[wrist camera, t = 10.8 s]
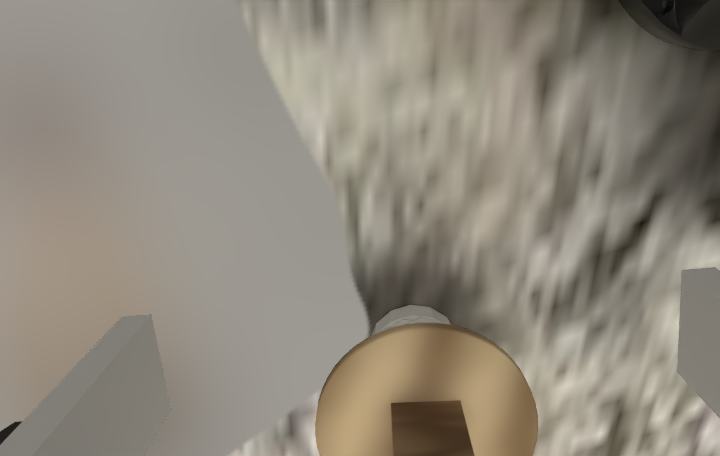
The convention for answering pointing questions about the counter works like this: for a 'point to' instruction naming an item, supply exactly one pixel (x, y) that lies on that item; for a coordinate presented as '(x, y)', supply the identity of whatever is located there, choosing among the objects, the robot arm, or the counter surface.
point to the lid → (426, 397)
